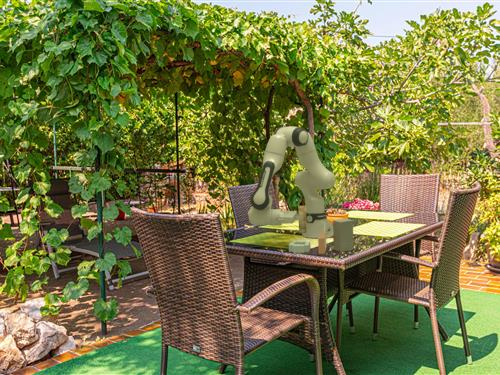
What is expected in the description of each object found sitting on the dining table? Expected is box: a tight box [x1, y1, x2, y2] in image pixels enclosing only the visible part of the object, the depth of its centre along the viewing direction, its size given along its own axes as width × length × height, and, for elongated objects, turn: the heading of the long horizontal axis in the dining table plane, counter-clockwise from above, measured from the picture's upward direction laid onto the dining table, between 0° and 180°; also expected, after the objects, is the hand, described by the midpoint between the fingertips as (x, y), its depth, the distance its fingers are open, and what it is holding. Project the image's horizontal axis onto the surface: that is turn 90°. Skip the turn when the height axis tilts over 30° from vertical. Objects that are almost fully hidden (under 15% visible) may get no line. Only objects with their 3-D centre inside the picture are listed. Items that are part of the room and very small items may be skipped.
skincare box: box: [332, 218, 354, 253], centre depth 257 cm, size 8×7×16 cm
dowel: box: [297, 205, 306, 234], centre depth 269 cm, size 4×4×14 cm
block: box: [288, 240, 311, 254], centre depth 260 cm, size 10×14×4 cm
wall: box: [317, 232, 327, 255], centre depth 257 cm, size 3×18×8 cm, turn 169°
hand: (304, 217), depth 269 cm, fingers closed on dowel, 4 cm apart
